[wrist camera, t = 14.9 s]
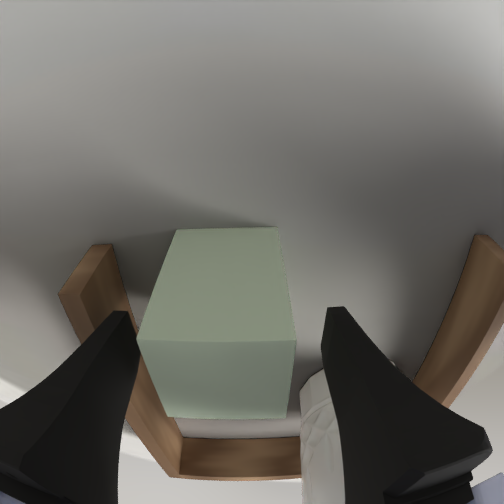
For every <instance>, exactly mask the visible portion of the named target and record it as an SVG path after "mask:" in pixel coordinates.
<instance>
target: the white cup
mask: <svg viewBox="0 0 504 504" xmlns="http://www.w3.org/2000/svg"><path fill="white" fill-rule="evenodd" d="M391 363H392V364H393V365H394V366H395V364H394V362H393V361H391ZM395 367H396V366H395ZM396 368H397V367H396ZM299 394H300V407H301V419H302V420H301V432H300V441H301V449H300V458H301V477H302V502H303V504H345V488H344V472H343V461H342V451H341V443H340V435H339V428H338V423H337V419H336V415H335V411H334V407H333V403H332V399H331V395H330V392H329V388H328V384H327V380H326V376H325V372H324V369H322V370H321V371H319V372H318V373H316V374H314V375H313V376H311V377H310V378H309V379H308V381H307V382H306V383H305V385H304V386H303V387H302V389H301V390H300V392H299Z"/></svg>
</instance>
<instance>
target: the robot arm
mask: <svg viewBox="0 0 504 504" xmlns="http://www.w3.org/2000/svg"><path fill="white" fill-rule="evenodd" d="M136 338H137V335H136V332H135V329H134V326H133V324H132V321H131V318H130V315H129V312H128V311H116V310H114V311H113V312H112V313H111V314H110V315H109V316H108V317H107V318H106V319H105V320H104V321H103V322H102V323H101V324H100V325H99V326H98V327H97V328H96V330H95V331H94V332H93V333H92V334H91V335H90V336H89V337H88V338H87V339H86V340H85V341H84V342H83V343H82V344H81V346H80V347H79V348H78V349H77V350H76V351H75V352H74V353H73V354H72V355H71V356H70V357H69V358H68V359H67V360H65V361H64V362H63V363H62V364H61V365H60V366H59V367H58V368H57V369H56V370H55V371H54V372H53V373H51V374H50V375H49V376H48V377H47V378H45V379H44V380H43V381H42V382H41V383H39V384H38V385H37V386H35V387H34V388H32V389H31V390H30V391H28V392H27V393H25V394H24V395H23V396H21V397H20V398H18V399H16V400H15V401H13V402H12V403H10V404H8V405H6V406H5V407H3V408H1V409H0V504H118V489H117V488H118V463H119V452H120V443H121V435H122V428H123V424H124V419H125V415H126V412H127V408H128V405H129V401H130V397H131V394H132V391H133V387H134V384H135V380H136V377H137V373H138V368H139V362H140V355H141V351H140V348H139V346H138V343H137V340H136ZM321 352H322V360H323V367H324V372H325V376H326V380H327V384H328V388H329V392H330V395H331V399H332V403H333V407H334V411H335V415H336V419H337V423H338V428H339V435H340V443H341V451H342V461H343V472H344V488H345V504H504V474H503V473H499V474H497V475H495V476H493V477H491V478H489V479H487V480H485V481H483V482H481V483H480V484H478V485H476V486H474V487H472V488H471V487H470V483H469V482H470V481H471V480H473V476H472V473H471V471H472V470H473V469H474V468H475V467H477V466H478V465H479V464H481V463H482V462H483V461H484V460H486V459H487V458H488V457H489V456H490V454H491V453H492V451H493V450H492V446H491V444H490V441H489V438H488V436H487V434H486V432H485V430H484V428H483V427H481V426H479V425H477V424H475V423H473V422H471V421H469V420H467V419H465V418H463V417H461V416H460V415H458V414H456V413H455V412H453V411H451V410H450V409H448V408H446V407H445V406H443V405H442V404H440V403H439V402H437V401H436V400H435V399H433V398H432V397H431V396H429V395H428V394H426V393H425V392H424V391H422V390H421V389H420V388H419V387H417V386H416V385H415V384H414V383H413V382H411V381H410V380H409V379H408V378H407V377H406V376H405V375H404V374H403V373H402V372H400V371H399V370H398V369H397V368H396V367H395V366H394V365H393V364H392V363H391V361H390V360H389V359H388V358H387V357H386V356H385V355H384V354H383V353H382V352H381V351H380V350H379V349H378V347H377V346H376V345H375V344H374V343H373V342H372V340H371V339H370V338H369V337H368V336H367V335H366V333H365V332H364V331H363V330H362V328H361V327H360V326H359V325H358V323H357V322H356V321H355V320H354V318H353V317H352V316H351V314H350V313H349V312H348V311H347V309H346V308H345V307H344V306H342V307H327V313H326V319H325V325H324V330H323V336H322V342H321Z"/></svg>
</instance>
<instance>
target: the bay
mask: <svg viewBox="0 0 504 504" xmlns="http://www.w3.org/2000/svg"><path fill="white" fill-rule="evenodd" d="M58 296H59V298H60V300H61V303H62V305H63V307H64V309H65V312H66V314H67V316H68V318H69V320H70V322H71V324H72V326H73V328H74V330H75V332H76V334H77V336H78V338H79V340H80V342H81V344H82V343H83V342H84V341H85V340H86V339H87V338H88V337H89V336H90V335H91V334H92V333H93V332H94V331H95V330H96V328H97V327H98V326H99V325H100V324H101V323H102V322H103V321H104V320H105V319H106V318H107V317H108V316H109V315H110V314H111V313H112V312H113V311H114V310H116V311H128V312H129V315H130V318H131V321H132V324H133V326H134V329H135V332H136V335H138V332H139V331H138V328H137V326H136V323H135V320H134V317H133V314H132V311H131V308H130V305H129V302H128V299H127V295H126V292H125V289H124V286H123V282H122V279H121V276H120V272H119V269H118V265H117V262H116V258H115V255H114V251H113V247H112V244H106V245H92V246H91V248H90V249H89V250H88V252H87V253H86V254H85V256H84V257H83V259H82V260H81V261H80V263H79V264H78V266H77V267H76V268H75V270H74V271H73V273H72V274H71V276H70V277H69V278H68V280H67V281H66V283H65V284H64V286H63V287H62V289H61V290H60V292H59V293H58ZM503 323H504V250H503V249H502V248H501V247H500V246H499V245H498V244H497V243H496V242H495V241H494V240H493V239H492V238H490V237H489V236H488V235H474V238H473V242H472V245H471V248H470V251H469V254H468V257H467V260H466V263H465V266H464V269H463V272H462V275H461V277H460V280H459V283H458V286H457V288H456V291H455V293H454V296H453V298H452V301H451V303H450V306H449V308H448V310H447V313H446V315H445V317H444V320H443V322H442V324H441V327H440V329H439V331H438V333H437V335H436V337H435V339H434V342H433V344H432V346H431V348H430V350H429V352H428V354H427V356H426V358H425V360H424V362H423V364H422V366H421V367H420V369H419V371H418V373H417V375H416V377H415V379H414V380H413V383H414V384H415V385H416V386H417V387H419V388H420V389H421V390H422V391H424V392H425V393H426V394H428V395H429V396H431V397H432V398H433V399H435V400H436V401H437V402H439V403H440V404H442V405H443V406H445V407H446V408H449V406H450V405H451V404H452V402H453V401H454V400H455V398H456V397H457V396H458V394H459V393H460V392H461V390H462V389H463V387H464V386H465V385H466V383H467V382H468V380H469V379H470V377H471V376H472V374H473V373H474V371H475V370H476V368H477V367H478V365H479V364H480V362H481V361H482V359H483V357H484V356H485V354H486V353H487V351H488V349H489V348H490V346H491V344H492V343H493V341H494V339H495V337H496V336H497V334H498V332H499V330H500V328H501V327H502V325H503ZM125 418H126V420H127V421H128V423H129V424H130V426H131V427H132V429H133V430H134V432H135V433H136V434H137V436H138V437H139V439H140V440H141V441H142V443H143V444H144V445H145V447H146V448H147V449H148V451H149V452H150V453H151V455H152V456H153V457H154V458H155V460H156V461H157V462H158V464H159V465H160V466H161V467H162V469H164V471H165V472H166V473H167V475H168V476H169V477H173V478H185V479H198V480H219V481H259V480H280V479H294V478H302V477H301V458H300V449H301V441H300V437H287V438H269V439H199V438H183V436H182V434H181V432H180V430H179V428H178V426H177V424H176V422H175V420H174V417H168V416H167V414H166V412H165V410H164V407H163V405H162V403H161V401H160V398H159V396H158V394H157V391H156V389H155V387H154V384H153V382H152V379H151V377H150V374H149V372H148V369H147V367H146V364H145V362H144V359H143V356H142V354H141V355H140V362H139V368H138V373H137V377H136V380H135V384H134V387H133V391H132V394H131V397H130V401H129V405H128V408H127V412H126V415H125Z"/></svg>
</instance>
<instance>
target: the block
mask: <svg viewBox="0 0 504 504" xmlns="http://www.w3.org/2000/svg"><path fill="white" fill-rule="evenodd" d="M136 340H137V343H138V346H139V348H140V351H141V354H142V356H143V359H144V362H145V364H146V367H147V369H148V372H149V374H150V377H151V379H152V382H153V384H154V387H155V389H156V391H157V394H158V396H159V398H160V401H161V403H162V405H163V407H164V410H165V412H166V414H167V416H168V417H178V418H195V419H233V420H241V419H279V418H286V413H287V406H288V400H289V393H290V386H291V379H292V371H293V364H294V356H295V348H296V340H297V339H296V333H295V327H294V321H293V315H292V309H291V303H290V297H289V291H288V285H287V280H286V274H285V268H284V263H283V257H282V251H281V246H280V240H279V235H278V229H277V227H254V228H207V229H177V230H176V232H175V235H174V237H173V240H172V242H171V245H170V247H169V250H168V252H167V255H166V258H165V260H164V263H163V265H162V268H161V271H160V273H159V276H158V279H157V281H156V284H155V287H154V289H153V292H152V295H151V298H150V300H149V303H148V306H147V309H146V312H145V315H144V317H143V320H142V323H141V326H140V329H139V332H138V335H137V338H136Z"/></svg>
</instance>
